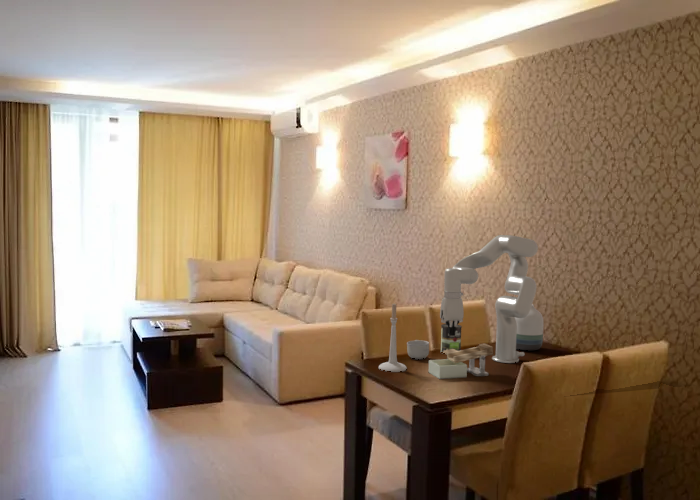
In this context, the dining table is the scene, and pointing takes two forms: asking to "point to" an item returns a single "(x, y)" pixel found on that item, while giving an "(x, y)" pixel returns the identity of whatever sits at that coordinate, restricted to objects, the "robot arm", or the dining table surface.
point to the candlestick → (393, 348)
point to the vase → (530, 331)
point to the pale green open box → (447, 369)
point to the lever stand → (477, 371)
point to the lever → (468, 353)
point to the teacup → (418, 349)
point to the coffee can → (450, 338)
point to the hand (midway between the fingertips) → (451, 335)
